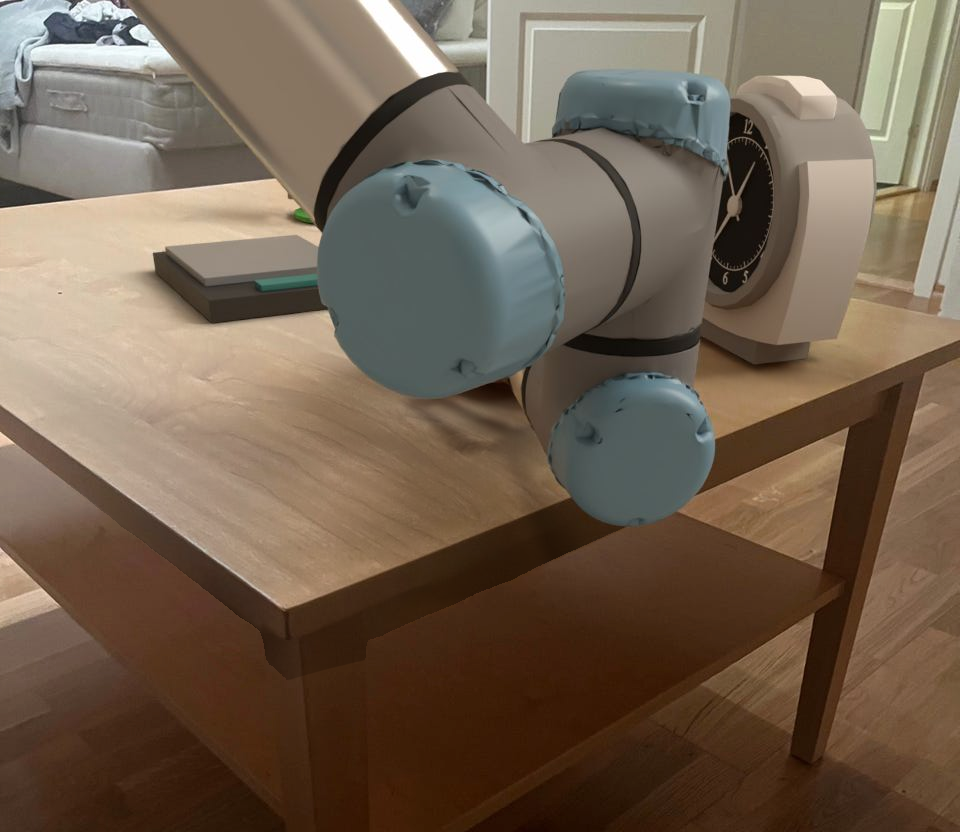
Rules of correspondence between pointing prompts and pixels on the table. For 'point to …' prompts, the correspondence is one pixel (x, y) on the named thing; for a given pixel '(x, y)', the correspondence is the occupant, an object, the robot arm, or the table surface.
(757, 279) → the alarm clock
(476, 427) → the table surface
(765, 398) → the table surface
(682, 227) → the robot arm
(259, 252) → the scale
